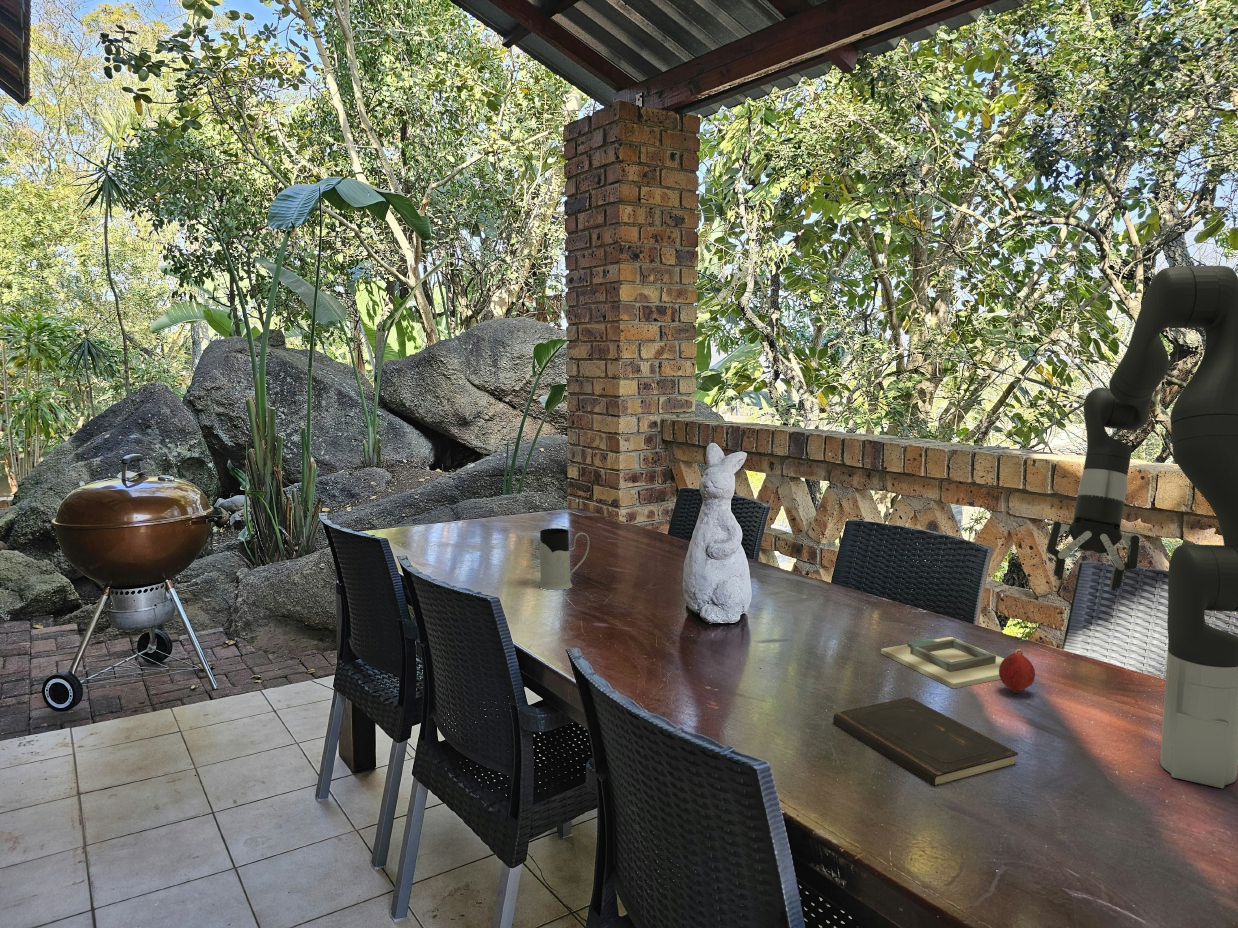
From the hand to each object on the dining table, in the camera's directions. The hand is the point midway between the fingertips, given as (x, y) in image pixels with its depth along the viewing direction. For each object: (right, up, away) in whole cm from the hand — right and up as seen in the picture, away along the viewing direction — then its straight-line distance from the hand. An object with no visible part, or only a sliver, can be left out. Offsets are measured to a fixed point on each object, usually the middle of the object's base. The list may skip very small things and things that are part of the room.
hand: (1085, 585), depth 154 cm
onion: (-13, -19, -1) cm, 23 cm away
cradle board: (-18, -17, +14) cm, 29 cm away
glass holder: (-98, -11, +75) cm, 124 cm away
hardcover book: (-36, -23, -19) cm, 47 cm away
